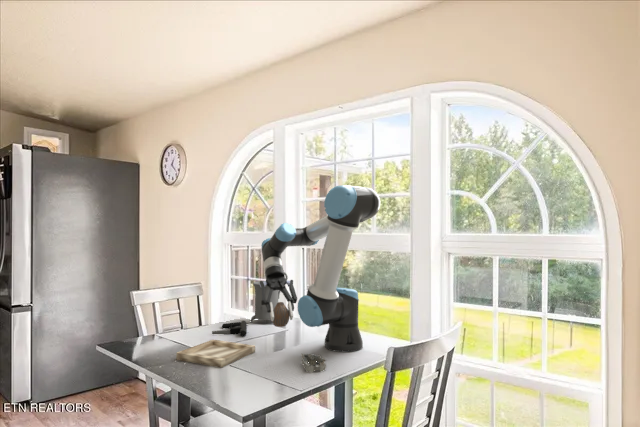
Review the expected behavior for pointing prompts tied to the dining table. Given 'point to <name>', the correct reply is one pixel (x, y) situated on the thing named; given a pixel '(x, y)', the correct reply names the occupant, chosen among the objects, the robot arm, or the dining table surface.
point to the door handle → (233, 328)
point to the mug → (262, 309)
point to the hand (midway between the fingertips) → (282, 318)
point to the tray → (215, 353)
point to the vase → (280, 315)
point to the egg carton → (313, 362)
